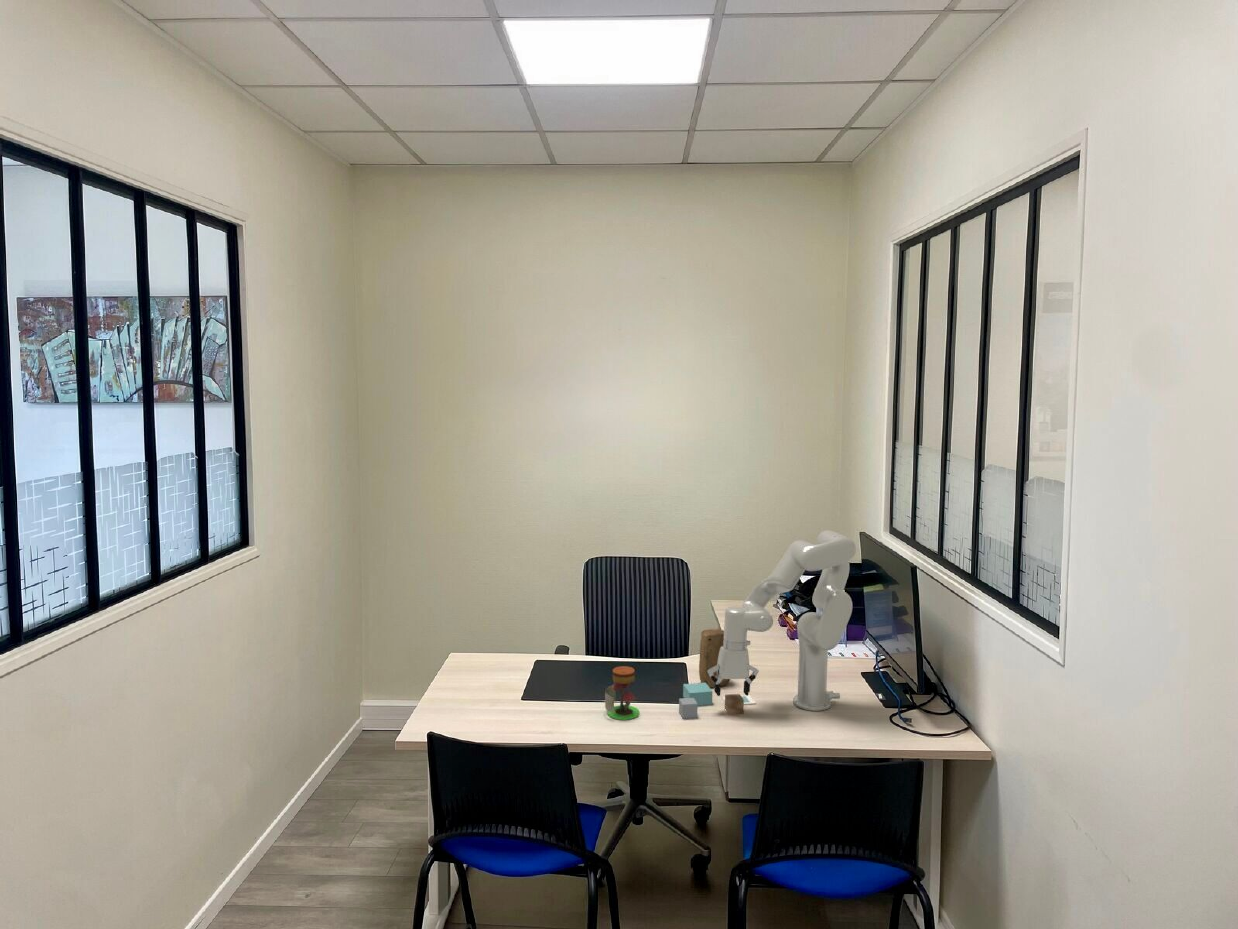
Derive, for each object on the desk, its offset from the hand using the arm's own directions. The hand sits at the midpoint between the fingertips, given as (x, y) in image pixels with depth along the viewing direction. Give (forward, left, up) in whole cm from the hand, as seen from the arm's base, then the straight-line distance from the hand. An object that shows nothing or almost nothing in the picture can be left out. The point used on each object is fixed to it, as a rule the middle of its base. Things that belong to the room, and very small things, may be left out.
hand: (731, 694), depth 276 cm
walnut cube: (-1, 0, -6) cm, 6 cm away
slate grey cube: (+15, +1, -6) cm, 16 cm away
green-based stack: (+36, -4, -6) cm, 37 cm away
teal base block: (+9, -10, -6) cm, 15 cm away
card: (-5, -8, -6) cm, 11 cm away
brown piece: (-1, -24, -6) cm, 25 cm away
